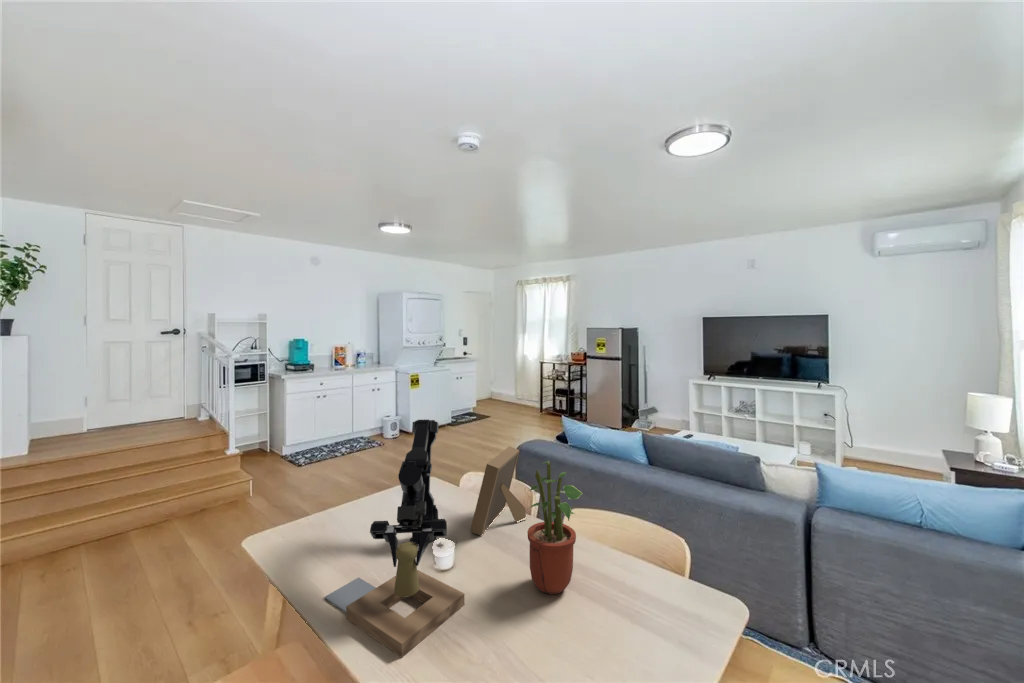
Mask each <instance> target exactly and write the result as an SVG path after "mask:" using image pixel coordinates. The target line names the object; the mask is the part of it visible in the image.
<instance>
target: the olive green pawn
mask: <svg viewBox="0 0 1024 683" xmlns="http://www.w3.org/2000/svg"><path fill="white" fill-rule="evenodd" d="M417 553H418V546H417V544H416V543H414V542H411V541H408V542H402V543H401V544H399V545H398V547H397V550H396V558H397V565H396V573H395V574H396V575H395V576H396V580H395V588H394V593H395V594H396V595H397V596H400V597H405V598H408V597H411V596H412V595H414V594H415V593H417V591H418V590H419V581H418V574H417V570H418V566H416V558H417Z"/></svg>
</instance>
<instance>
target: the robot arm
mask: <svg viewBox="0 0 1024 683" xmlns="http://www.w3.org/2000/svg"><path fill="white" fill-rule="evenodd" d="M411 433H412V435H414V436H413V441H412V446H411V449H410V450H409V451H408V452H407V453H406V454H405V457H404V461H403V460H402V463H401V466H400V467H399V468H400V469H399V471H398V480H399V484H400V485H399V486H400V487H401V490H402V497H401V503H400V506H397V514H396V523H397V524H393V525H391V524H390V523H389V521H388V520H374V521H373V522H372V523H371V524H370V528H369V529H370V530H369V534H370V535H371V537H372V538H373V539H374V540H384V541H385V542H386V543H388V544H389V547H390V553H391V557H392V564H393V567H394V568H397V564H398V560H397V558H396V550H397V548H398V546H399V545H398V543H399V540H398V536H397V534H406V533H407V534H411V536H412V537H410V538H409V542H411V543H414V544H415V545H418V547H417V549H418V553H417V556H416V558H415V559H416V566H417V567H418V566H419V564H420V562H421V559H422V557H423V555H424V553H425V551H426V549H427V547H428V545H429V544H430V543H431V542H433V541H435V540H437V538H441V537H443V538H444V537H447V534H448V524H447V520H446V519H445V518H439V511H438V508H437V505H436V504H435V498H434V497H433V496H434V495H432V493H431V472H432V471H433V470H432V469H433V464H432V446H433V445H434V443H435V441H436V440H437V434H439V422H438V421H436V420H435V419H431V420H430V419H417V420H415V421H412V428H411ZM434 539H435V540H434Z"/></svg>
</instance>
